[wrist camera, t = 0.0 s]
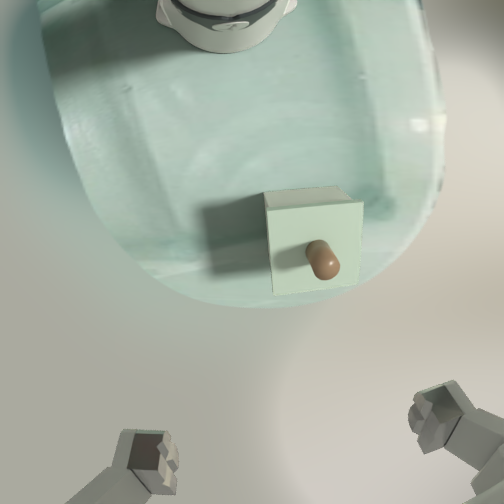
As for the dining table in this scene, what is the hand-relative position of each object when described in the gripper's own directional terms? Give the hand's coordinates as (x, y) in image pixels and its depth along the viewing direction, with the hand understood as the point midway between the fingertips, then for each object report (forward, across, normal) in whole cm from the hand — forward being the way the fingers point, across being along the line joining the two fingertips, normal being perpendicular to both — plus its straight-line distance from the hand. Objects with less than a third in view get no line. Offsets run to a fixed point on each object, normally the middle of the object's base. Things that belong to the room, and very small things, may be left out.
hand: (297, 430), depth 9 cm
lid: (+33, -8, +7) cm, 34 cm away
